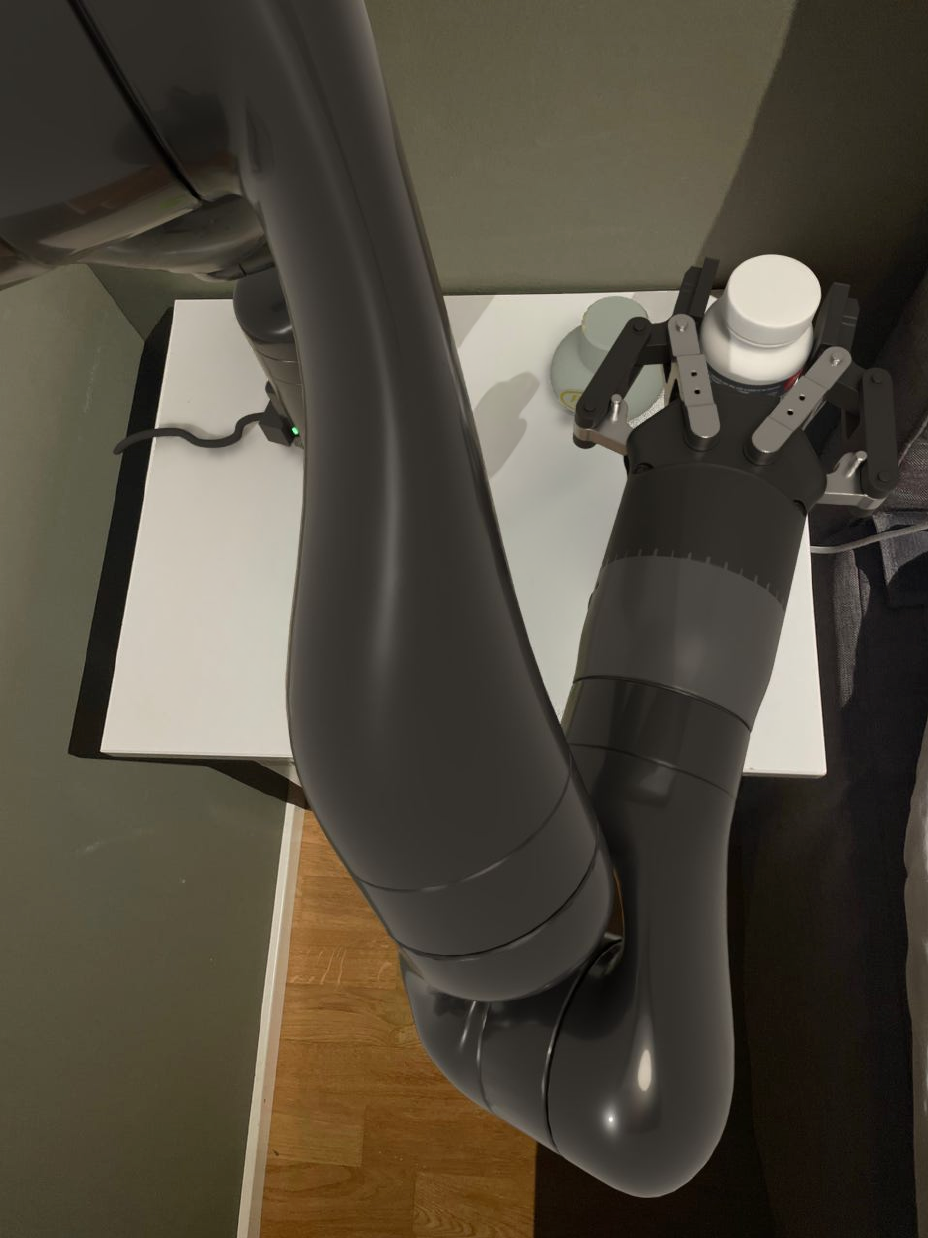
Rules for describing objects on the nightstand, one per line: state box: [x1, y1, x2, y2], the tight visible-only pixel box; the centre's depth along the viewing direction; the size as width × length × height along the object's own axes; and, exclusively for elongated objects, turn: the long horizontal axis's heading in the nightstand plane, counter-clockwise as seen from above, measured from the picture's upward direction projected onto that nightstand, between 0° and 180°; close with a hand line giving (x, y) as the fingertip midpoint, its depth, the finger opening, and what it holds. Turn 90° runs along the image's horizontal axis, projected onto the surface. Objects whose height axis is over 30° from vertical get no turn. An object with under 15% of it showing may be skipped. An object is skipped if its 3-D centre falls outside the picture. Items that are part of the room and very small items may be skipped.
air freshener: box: [549, 295, 664, 422], centre depth 72 cm, size 11×8×10 cm
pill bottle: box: [698, 254, 822, 402], centre depth 38 cm, size 5×5×9 cm
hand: (770, 284), depth 37 cm, fingers closed on pill bottle, 5 cm apart
